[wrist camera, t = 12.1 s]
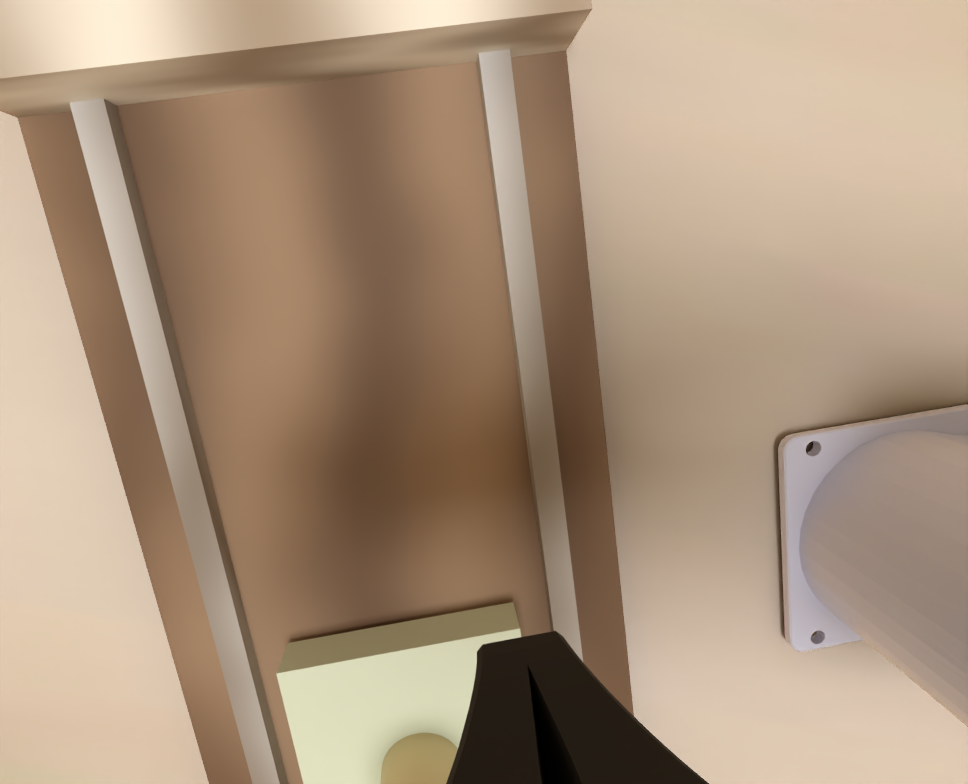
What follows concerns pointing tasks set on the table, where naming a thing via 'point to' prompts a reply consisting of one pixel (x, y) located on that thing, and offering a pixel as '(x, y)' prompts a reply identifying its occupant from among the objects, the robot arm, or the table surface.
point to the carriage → (387, 696)
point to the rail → (329, 322)
